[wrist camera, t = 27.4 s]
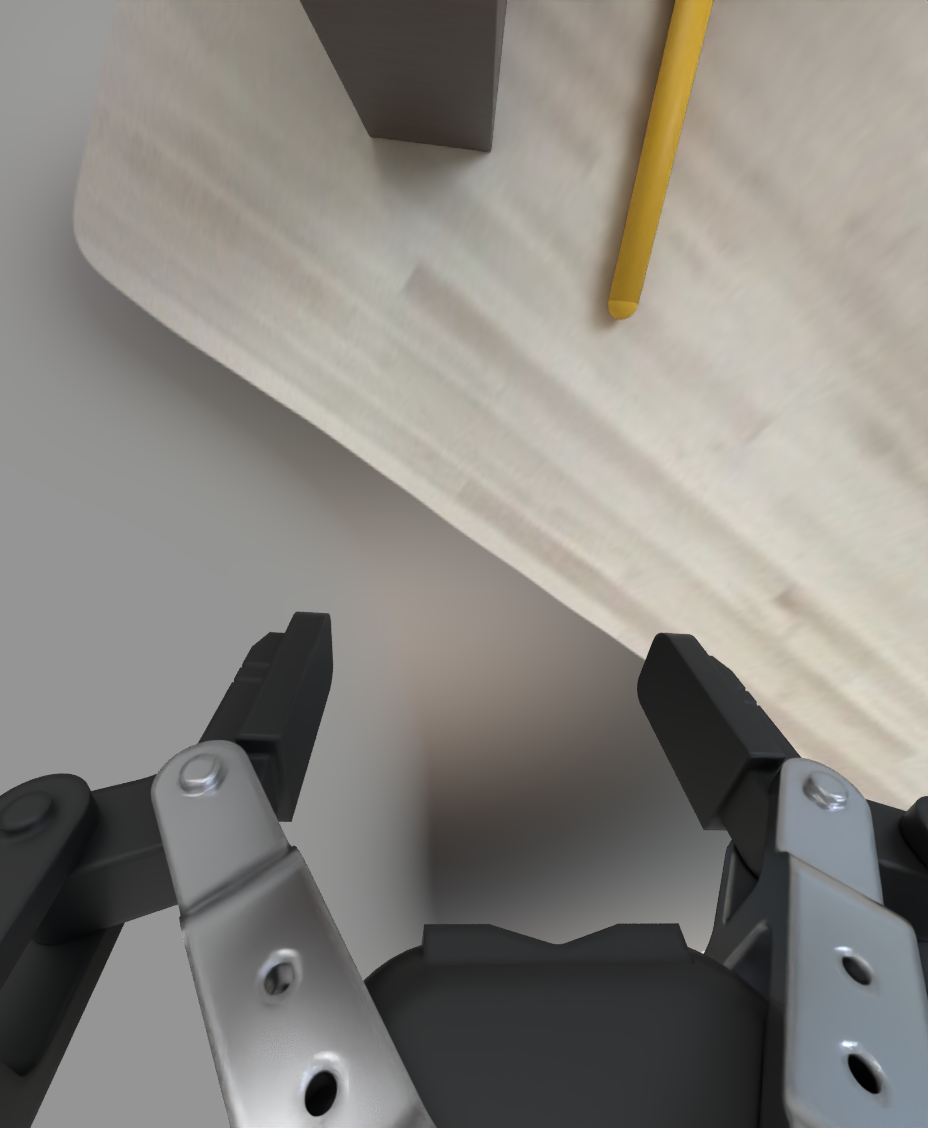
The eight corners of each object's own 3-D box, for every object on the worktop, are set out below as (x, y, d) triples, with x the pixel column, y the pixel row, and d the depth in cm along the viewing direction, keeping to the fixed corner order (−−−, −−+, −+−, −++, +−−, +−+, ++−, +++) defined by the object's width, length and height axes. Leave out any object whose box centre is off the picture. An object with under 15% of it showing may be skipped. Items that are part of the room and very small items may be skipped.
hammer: (703, -283, 20) (723, -341, 18) (803, -267, 20) (832, -324, 18) (581, 315, 29) (587, 313, 28) (648, 324, 29) (658, 323, 28)
